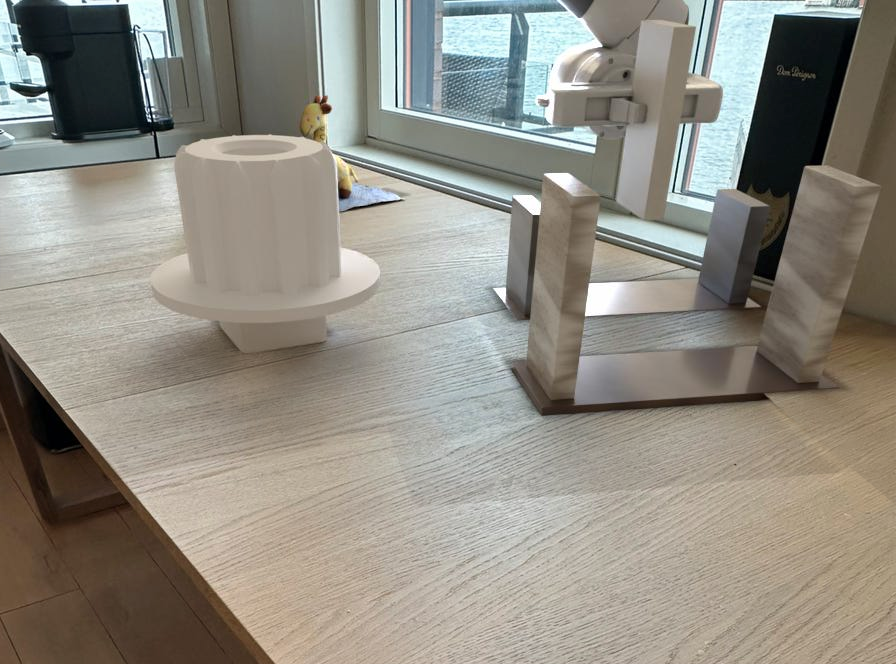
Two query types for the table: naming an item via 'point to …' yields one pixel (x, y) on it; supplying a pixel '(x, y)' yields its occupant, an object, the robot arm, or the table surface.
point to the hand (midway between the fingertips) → (657, 114)
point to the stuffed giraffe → (340, 160)
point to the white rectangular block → (655, 116)
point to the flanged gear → (262, 242)
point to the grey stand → (716, 287)
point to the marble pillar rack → (700, 370)
